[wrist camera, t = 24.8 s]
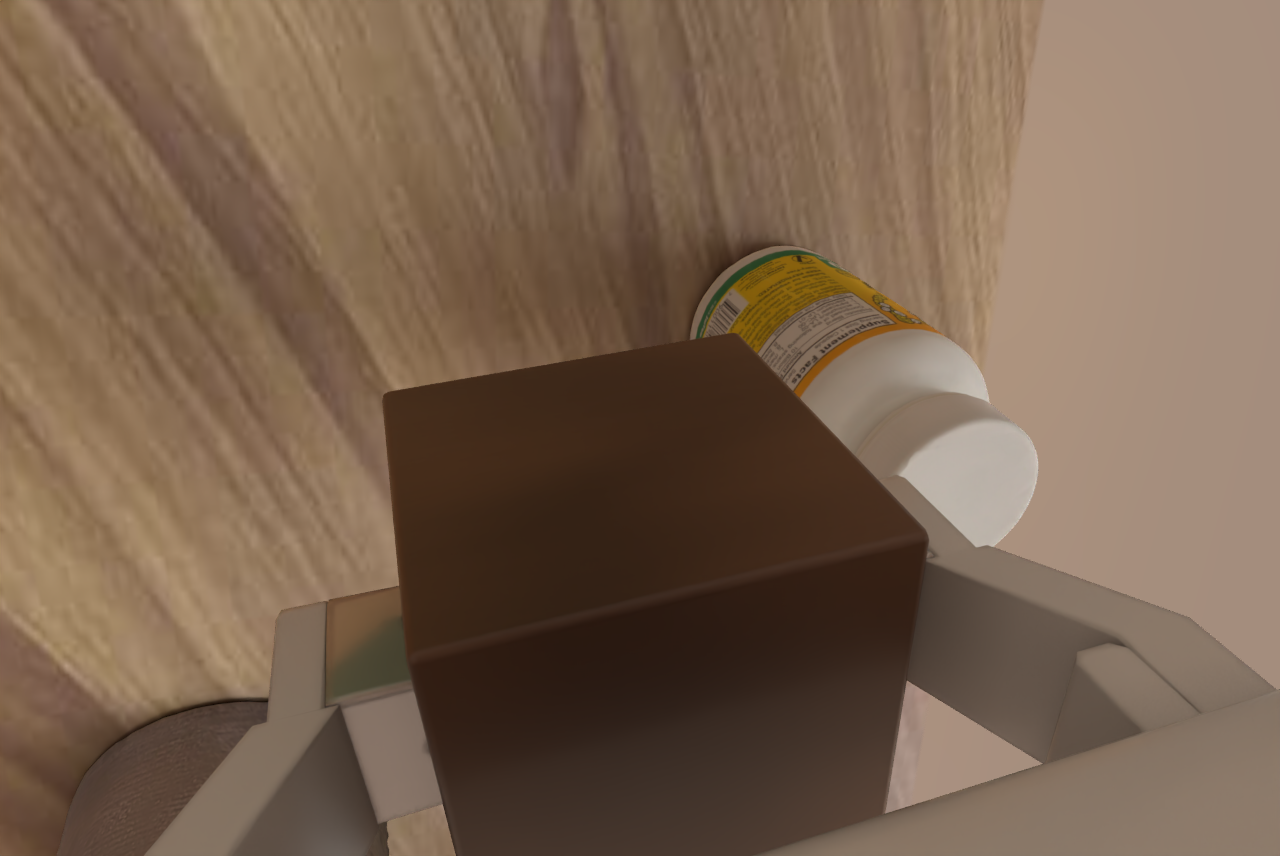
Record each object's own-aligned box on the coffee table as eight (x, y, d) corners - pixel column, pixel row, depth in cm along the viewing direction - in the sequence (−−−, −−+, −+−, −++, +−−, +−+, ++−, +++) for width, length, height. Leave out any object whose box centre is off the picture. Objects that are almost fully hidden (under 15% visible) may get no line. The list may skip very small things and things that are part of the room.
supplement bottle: (659, 294, 25) (817, 468, 17) (824, 208, 25) (1055, 340, 17) (718, 434, 28) (876, 638, 20) (864, 357, 28) (1077, 527, 20)
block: (737, 329, 11) (935, 532, 8) (733, 593, 14) (883, 848, 10) (380, 389, 10) (404, 660, 7) (442, 663, 13) (486, 978, 9)
